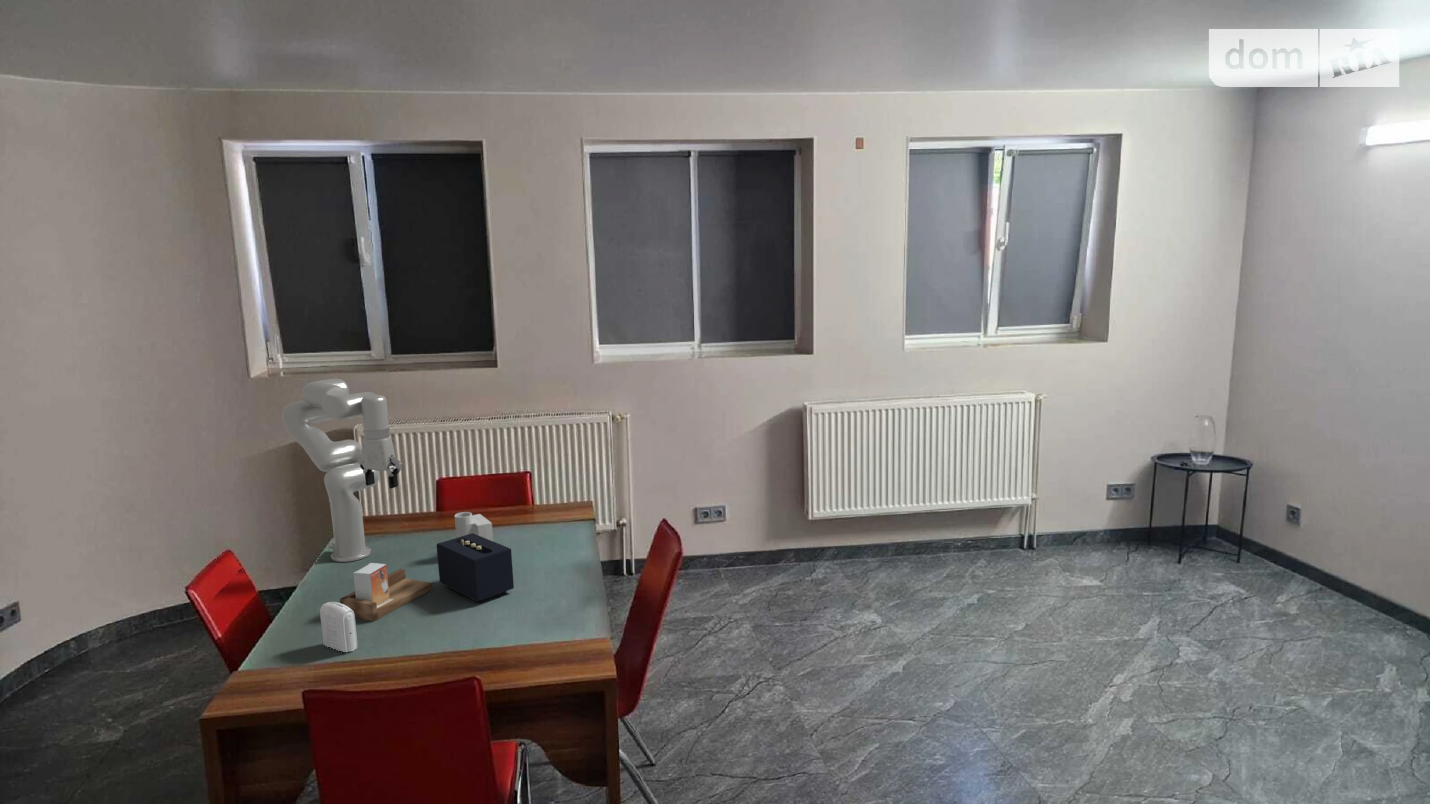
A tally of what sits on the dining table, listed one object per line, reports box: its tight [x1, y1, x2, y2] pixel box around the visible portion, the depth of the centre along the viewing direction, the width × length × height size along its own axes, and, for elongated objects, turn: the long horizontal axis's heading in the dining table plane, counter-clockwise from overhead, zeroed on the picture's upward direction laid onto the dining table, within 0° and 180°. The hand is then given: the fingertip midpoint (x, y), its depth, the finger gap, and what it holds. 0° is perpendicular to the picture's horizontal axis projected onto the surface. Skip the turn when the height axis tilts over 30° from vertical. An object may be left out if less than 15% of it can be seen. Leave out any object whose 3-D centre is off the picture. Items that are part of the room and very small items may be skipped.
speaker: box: [436, 533, 515, 604], centre depth 252 cm, size 22×13×15 cm, turn 47°
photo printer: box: [319, 601, 358, 652], centre depth 217 cm, size 10×4×12 cm, turn 61°
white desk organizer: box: [454, 511, 494, 542], centre depth 280 cm, size 12×14×15 cm
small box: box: [353, 562, 389, 605], centre depth 240 cm, size 8×6×10 cm
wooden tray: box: [339, 568, 433, 622], centre depth 245 cm, size 12×24×5 cm, turn 157°
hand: (382, 486), depth 266 cm, fingers open, 9 cm apart
